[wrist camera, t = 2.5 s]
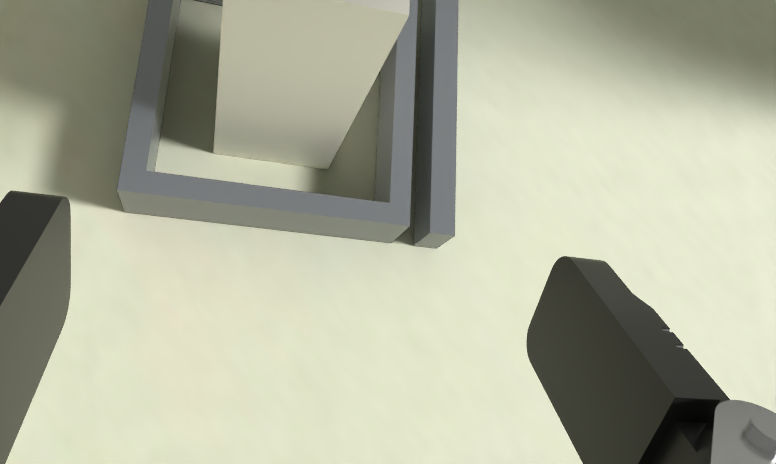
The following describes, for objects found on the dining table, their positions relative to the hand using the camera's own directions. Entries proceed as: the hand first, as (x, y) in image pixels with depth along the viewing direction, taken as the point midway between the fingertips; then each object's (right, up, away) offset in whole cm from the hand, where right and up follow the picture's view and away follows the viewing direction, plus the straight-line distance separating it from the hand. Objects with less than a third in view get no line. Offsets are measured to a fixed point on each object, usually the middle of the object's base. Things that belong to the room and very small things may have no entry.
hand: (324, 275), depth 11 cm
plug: (-3, +6, +16) cm, 17 cm away
